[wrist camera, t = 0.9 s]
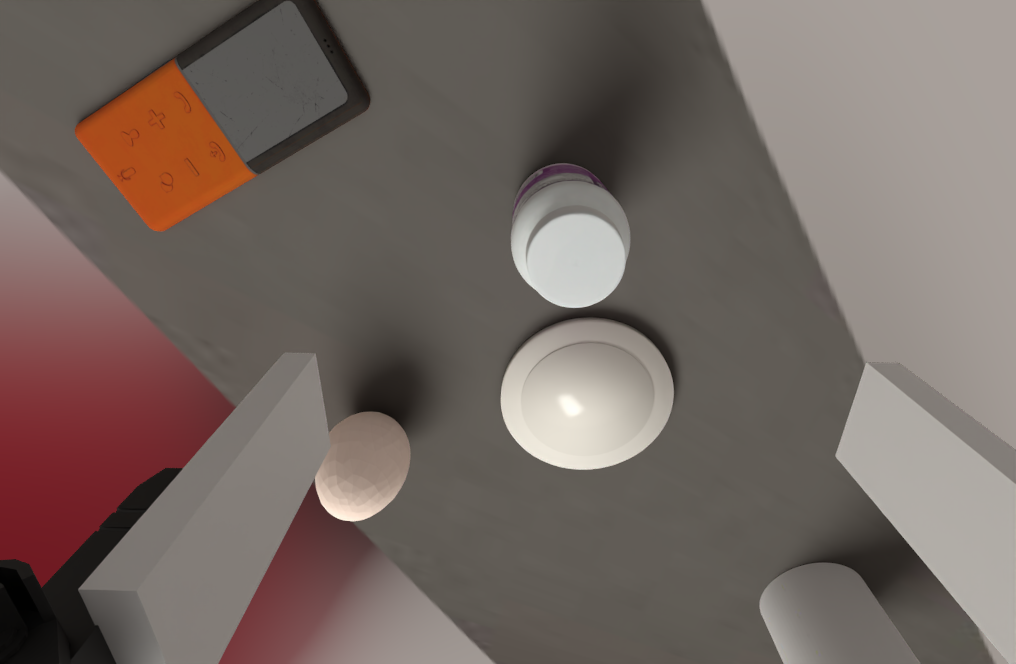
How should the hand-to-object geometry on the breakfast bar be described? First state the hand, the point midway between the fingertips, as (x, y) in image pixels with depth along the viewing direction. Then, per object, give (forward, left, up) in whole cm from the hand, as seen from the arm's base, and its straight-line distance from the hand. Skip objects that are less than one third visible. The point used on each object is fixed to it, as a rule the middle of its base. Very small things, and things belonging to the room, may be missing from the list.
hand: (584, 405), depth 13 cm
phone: (-6, -17, -20) cm, 27 cm away
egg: (+14, -11, -19) cm, 26 cm away
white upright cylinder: (+30, +22, -19) cm, 42 cm away
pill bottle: (-1, +1, -19) cm, 19 cm away
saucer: (+11, +3, -19) cm, 22 cm away
